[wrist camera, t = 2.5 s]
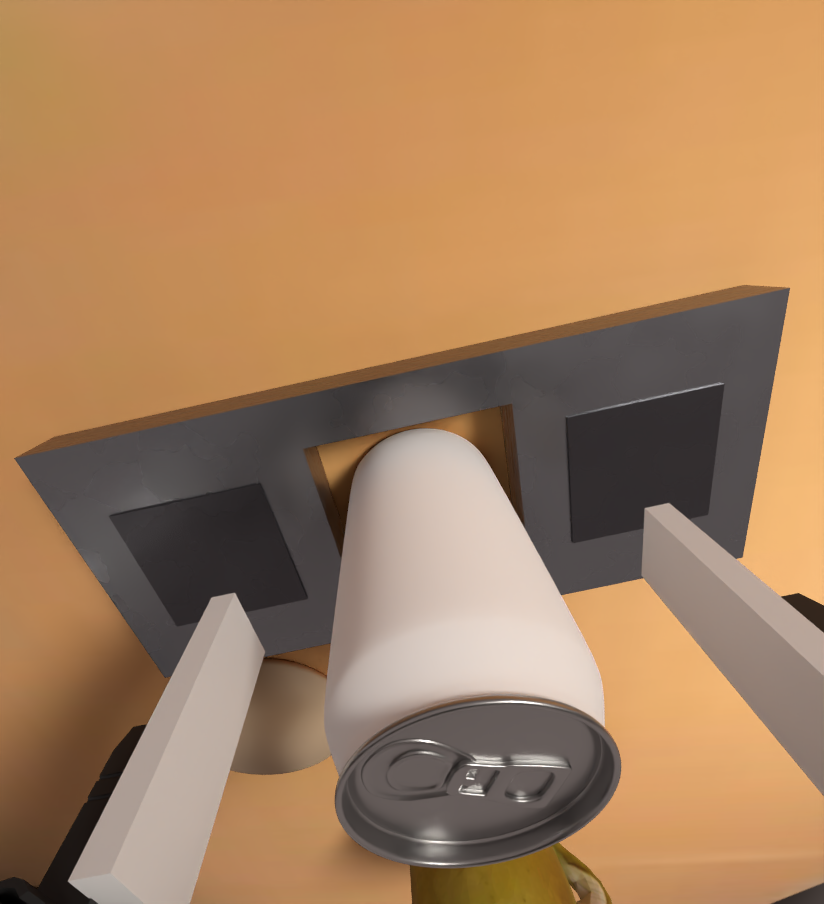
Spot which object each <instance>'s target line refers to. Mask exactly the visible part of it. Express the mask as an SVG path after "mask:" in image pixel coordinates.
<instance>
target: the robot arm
mask: <svg viewBox="0 0 824 904" xmlns="http://www.w3.org/2000/svg"><path fill="white" fill-rule="evenodd" d="M641 576H642V577H643V578H644V579H645V580H646V582H647V583H648V584H649V585H650V586H651V588H652V589H653V590H654V591H655V593H656V594H657V595H658V596H659V597H660V599H661V600H662V601H663V602H664V603H665V605H666V606H667V607H668V608H669V609H670V611H671V612H672V613H673V614H674V615H675V617H676V618H677V619H678V620H679V622H680V623H681V624H682V625H683V626H684V628H685V629H686V630H687V631H688V632H689V634H690V635H691V636H692V637H693V638H694V640H695V641H696V642H697V643H698V645H699V646H700V647H701V648H702V649H703V651H704V652H705V653H706V654H707V655H708V657H709V658H710V659H711V660H712V661H713V663H714V664H715V665H716V666H717V668H718V669H719V670H720V671H721V672H722V674H723V675H724V676H725V677H726V678H727V680H728V681H729V682H730V683H731V684H732V686H733V687H734V688H735V689H736V691H737V692H738V693H739V694H740V695H741V697H742V698H743V699H744V700H745V701H746V703H747V704H748V705H749V706H750V707H751V709H752V710H753V711H754V712H755V714H756V715H757V716H758V717H759V718H760V720H761V721H762V722H763V723H764V724H765V726H766V727H767V728H768V729H769V730H770V732H771V733H772V734H773V735H774V736H775V738H776V739H777V740H778V741H779V743H780V744H781V745H782V746H783V747H784V749H785V750H786V751H787V752H788V753H789V755H790V756H791V757H792V758H793V759H794V761H795V762H796V763H797V764H798V766H799V767H800V768H801V769H802V770H803V772H804V773H805V774H806V775H807V776H808V778H809V779H810V780H811V781H812V782H813V784H814V785H815V786H816V787H817V789H818V790H819V791H820V792H821V793H822V795H823V796H824V605H822V604H820V603H818V602H816V601H814V600H811V599H809V598H807V597H805V596H803V595H801V594H799V593H797V594H792V595H787V596H782V597H780V596H779V595H778V594H777V593H776V592H774V591H773V590H772V589H771V588H770V587H769V586H767V585H766V584H765V583H764V582H763V581H761V580H760V579H759V578H758V577H757V576H755V575H754V574H753V573H752V572H751V571H750V570H748V569H747V568H746V567H745V566H744V565H742V564H741V563H740V562H739V561H738V560H736V559H735V558H734V557H733V556H732V555H730V554H729V553H728V552H727V551H726V550H725V549H723V548H722V547H721V546H720V545H719V544H717V543H716V542H715V541H714V540H713V539H711V538H710V537H709V536H708V535H707V534H706V533H704V532H703V531H702V530H701V529H700V528H698V527H697V526H696V525H695V524H694V523H692V522H691V521H690V520H689V519H688V518H686V517H685V516H684V515H683V514H682V513H681V512H679V511H678V510H677V509H676V508H675V507H673V506H672V505H671V504H670V503H667V504H662V505H657V506H652V507H647V508H645V511H644V532H643V553H642V574H641ZM264 654H265V650H264V648H263V646H262V644H261V643H260V641H259V639H258V637H257V635H256V633H255V631H254V629H253V627H252V625H251V623H250V621H249V619H248V617H247V615H246V613H245V611H244V609H243V608H242V606H241V604H240V602H239V600H238V598H237V596H236V594H235V593H231V594H226V595H221V596H216V597H212V598H211V600H210V602H209V604H208V606H207V608H206V609H205V611H204V613H203V615H202V617H201V619H200V621H199V623H198V625H197V627H196V629H195V631H194V633H193V635H192V637H191V639H190V641H189V643H188V645H187V647H186V649H185V651H184V653H183V655H182V657H181V659H180V661H179V663H178V665H177V667H176V669H175V671H174V673H173V675H172V677H171V679H170V681H169V682H168V684H167V686H166V688H165V690H164V692H163V694H162V696H161V698H160V700H159V702H158V704H157V706H156V708H155V710H154V712H153V714H152V716H151V718H150V720H149V722H148V724H146V725H141V726H136V727H133V728H132V729H131V730H130V732H129V733H128V734H127V735H126V736H125V738H124V739H123V740H122V741H121V742H120V743H119V745H118V746H117V747H116V748H115V749H114V751H113V752H112V754H111V756H110V758H109V760H108V761H107V763H106V765H105V767H104V769H103V771H102V772H101V774H100V779H99V781H97V782H96V783H95V785H94V787H93V789H92V791H91V792H90V794H89V796H88V801H87V803H84V805H83V807H82V809H81V811H80V813H79V814H78V816H77V818H76V820H75V822H74V823H73V825H72V827H71V829H70V831H69V833H68V834H67V836H66V838H65V840H64V842H63V843H62V845H61V847H60V849H59V851H58V853H57V854H56V856H55V858H54V860H53V862H52V864H51V865H50V867H49V869H48V871H47V873H46V874H45V876H44V878H43V880H42V882H41V884H40V885H39V887H38V889H36V888H34V887H33V886H32V885H30V884H29V883H28V882H26V881H25V880H22V879H19V878H15V877H13V878H10V879H7V880H4V881H0V904H190V901H191V898H192V895H193V891H194V888H195V885H196V881H197V878H198V875H199V871H200V868H201V865H202V861H203V858H204V855H205V851H206V848H207V845H208V841H209V838H210V835H211V831H212V828H213V825H214V821H215V818H216V814H217V811H218V808H219V804H220V801H221V798H222V794H223V791H224V788H225V784H226V781H227V778H228V774H229V771H230V768H231V764H232V761H233V758H234V754H235V751H236V748H237V744H238V741H239V738H240V734H241V731H242V728H243V724H244V721H245V718H246V714H247V711H248V707H249V704H250V701H251V697H252V694H253V691H254V687H255V684H256V681H257V677H258V674H259V671H260V667H261V664H262V661H263V657H264Z"/></svg>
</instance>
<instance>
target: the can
mask: <svg viewBox="0 0 824 904" xmlns="http://www.w3.org/2000/svg"><path fill="white" fill-rule="evenodd" d="M324 728H325V734H326V738H327V742H328V746H329V749H330V752H331V755H332V758H333V761H334V763H335V766H336V769H337V772H338V774H339V779H338V782H337V786H336V790H335V809H336V813H337V816H338V819H339V821H340V823H341V825H342V827H343V828H344V830H345V831H346V832H347V834H348V835H349V836H350V837H351V838H352V839H353V840H354V841H355V842H357V843H358V844H359V845H361V846H362V847H364V848H365V849H367V850H369V851H370V852H372V853H374V854H376V855H379V856H381V857H384V858H386V859H389V860H392V861H396V862H399V863H403V864H408V865H414V866H420V867H430V868H467V867H477V866H485V865H491V864H496V863H501V862H505V861H510V860H513V859H517V858H520V857H524V856H527V855H530V854H533V853H535V852H538V851H541V850H543V849H545V848H548V847H550V846H552V845H554V844H556V843H558V842H560V841H562V840H564V839H566V838H567V837H569V836H571V835H572V834H574V833H576V832H577V831H579V830H580V829H581V828H583V827H584V826H585V825H587V824H588V823H589V822H590V821H592V820H593V819H594V818H595V817H596V816H597V815H598V814H599V813H600V812H601V811H602V810H603V808H604V807H605V806H606V805H607V803H608V802H609V801H610V799H611V798H612V796H613V794H614V792H615V790H616V788H617V786H618V783H619V779H620V775H621V758H620V753H619V750H618V747H617V745H616V743H615V741H614V739H613V738H612V736H611V735H610V733H609V732H608V731H607V730H606V729H605V717H604V694H603V686H602V680H601V676H600V672H599V670H598V667H597V665H596V662H595V660H594V657H593V655H592V653H591V651H590V649H589V647H588V645H587V643H586V641H585V639H584V637H583V635H582V633H581V631H580V630H579V628H578V626H577V624H576V622H575V620H574V618H573V617H572V615H571V613H570V611H569V609H568V607H567V605H566V603H565V602H564V600H563V598H562V596H561V594H560V592H559V591H558V589H557V587H556V585H555V583H554V581H553V579H552V578H551V576H550V574H549V572H548V570H547V568H546V567H545V565H544V563H543V561H542V559H541V557H540V556H539V554H538V552H537V550H536V548H535V546H534V545H533V543H532V541H531V539H530V537H529V536H528V534H527V532H526V530H525V528H524V526H523V525H522V523H521V521H520V519H519V517H518V516H517V514H516V512H515V510H514V508H513V506H512V505H511V503H510V501H509V499H508V497H507V496H506V494H505V492H504V490H503V488H502V487H501V485H500V483H499V481H498V479H497V478H496V476H495V474H494V472H493V471H492V469H491V467H490V465H489V464H488V462H487V461H486V459H485V457H484V456H483V455H482V454H481V452H480V451H479V450H478V449H477V448H476V447H475V446H474V445H473V444H472V443H470V442H469V441H467V440H466V439H464V438H463V437H461V436H459V435H456V434H454V433H451V432H448V431H445V430H440V429H431V428H420V429H412V430H407V431H403V432H400V433H397V434H395V435H392V436H390V437H388V438H386V439H385V440H383V441H381V442H380V443H379V444H377V445H376V446H375V447H373V448H372V449H371V450H370V451H369V452H368V453H367V454H366V455H365V457H364V458H363V459H362V460H361V462H360V463H359V465H358V467H357V469H356V471H355V474H354V477H353V481H352V487H351V493H350V500H349V507H348V514H347V521H346V529H345V537H344V544H343V552H342V560H341V567H340V575H339V583H338V591H337V599H336V607H335V615H334V623H333V631H332V639H331V647H330V656H329V664H328V673H327V682H326V692H325V703H324Z"/></svg>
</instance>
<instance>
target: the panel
mask: <svg viewBox="0 0 824 904" xmlns="http://www.w3.org/2000/svg"><path fill="white" fill-rule="evenodd" d="M789 291H790V288H784V287H767V286H750V285H742V286H738V287H733V288H728V289H724V290H719V291H715V292H710V293H706V294H701V295H697V296H692V297H688V298H683V299H679V300H674V301H669V302H665V303H660V304H656V305H651V306H647V307H642V308H638V309H633V310H629V311H624V312H620V313H615V314H610V315H606V316H601V317H597V318H592V319H588V320H583V321H579V322H574V323H570V324H565V325H561V326H556V327H551V328H547V329H542V330H538V331H533V332H529V333H524V334H520V335H515V336H511V337H506V338H502V339H497V340H492V341H488V342H483V343H479V344H474V345H470V346H465V347H461V348H456V349H452V350H447V351H443V352H438V353H433V354H429V355H424V356H420V357H415V358H411V359H406V360H402V361H397V362H393V363H388V364H384V365H379V366H374V367H370V368H365V369H361V370H356V371H352V372H347V373H343V374H338V375H334V376H329V377H325V378H320V379H315V380H311V381H306V382H302V383H297V384H293V385H288V386H284V387H279V388H275V389H270V390H266V391H261V392H256V393H252V394H247V395H243V396H238V397H234V398H229V399H225V400H220V401H216V402H211V403H207V404H202V405H197V406H193V407H188V408H184V409H179V410H175V411H170V412H166V413H161V414H157V415H152V416H148V417H143V418H138V419H134V420H129V421H125V422H120V423H116V424H111V425H107V426H102V427H98V428H93V429H89V430H84V431H79V432H75V433H70V434H66V435H61V436H57V437H53V438H51V439H50V440H48V441H46V442H44V443H42V444H40V445H38V446H36V447H35V448H33V449H31V450H29V451H27V452H25V453H23V454H21V455H20V456H18V457H16V458H14V459H15V460H16V461H17V463H18V464H19V466H20V467H21V469H22V470H23V472H24V473H25V475H26V476H27V478H28V479H29V480H30V482H31V483H32V485H33V486H34V488H35V489H36V491H37V492H38V494H39V495H40V496H41V498H42V499H43V501H44V502H45V504H46V505H47V507H48V508H49V510H50V511H51V512H52V514H53V515H54V517H55V518H56V520H57V521H58V523H59V524H60V526H61V527H62V528H63V530H64V531H65V533H66V534H67V536H68V537H69V539H70V540H71V542H72V543H73V544H74V546H75V547H76V549H77V550H78V552H79V553H80V555H81V556H82V558H83V559H84V560H85V562H86V563H87V565H88V566H89V568H90V569H91V571H92V572H93V574H94V575H95V577H96V578H97V579H98V581H99V582H100V584H101V585H102V587H103V588H104V590H105V591H106V593H107V594H108V595H109V597H110V598H111V600H112V601H113V603H114V604H115V606H116V607H117V609H118V610H119V611H120V613H121V614H122V616H123V617H124V619H125V620H126V622H127V623H128V625H129V626H130V627H131V629H132V630H133V632H134V633H135V635H136V636H137V638H138V639H139V641H140V642H141V643H142V645H143V646H144V648H145V649H146V651H147V652H148V654H149V655H150V657H151V658H152V660H153V661H154V662H155V664H156V665H157V667H158V668H159V670H160V671H161V673H162V674H163V676H164V677H165V678H166V677H171V676H172V675H173V673H174V671H175V669H176V667H177V665H178V663H179V661H180V659H181V657H182V655H183V653H184V651H185V649H186V647H187V645H188V643H189V641H190V639H191V637H192V635H193V633H194V631H195V629H196V627H197V625H198V623H199V621H200V619H201V617H202V615H203V613H204V611H205V609H206V608H207V606H208V604H209V602H210V600H211V598H212V597H216V596H221V595H226V594H231V593H235V594H236V596H237V598H238V600H239V602H240V604H241V606H242V608H243V609H244V611H245V613H246V615H247V617H248V619H249V621H250V623H251V625H252V627H253V629H254V631H255V633H256V635H257V637H258V639H259V641H260V643H261V644H262V646H263V648H264V650H265V654H264V657H267V656H271V655H276V654H281V653H286V652H291V651H295V650H300V649H305V648H310V647H315V646H319V645H324V644H329V643H331V639H332V631H333V623H334V615H335V607H336V599H337V591H338V583H339V575H340V567H341V560H342V552H343V544H344V537H345V531H344V528H343V525H342V522H341V519H340V516H339V513H338V510H337V507H336V504H335V501H334V498H333V495H332V492H331V489H330V486H329V483H328V480H327V477H326V474H325V471H324V468H323V465H322V462H321V459H320V456H319V453H318V450H317V447H316V446H319V445H323V444H328V443H332V442H337V441H342V440H346V439H351V438H355V437H360V436H365V435H369V434H374V433H378V432H383V431H388V430H392V429H397V428H401V427H406V426H411V425H415V424H420V423H424V422H429V421H434V420H438V419H443V418H447V417H452V416H457V415H461V414H466V413H470V412H475V411H480V410H484V409H489V408H493V407H498V406H500V409H501V417H502V426H503V435H504V443H505V452H506V460H507V469H508V477H509V486H510V494H511V503H512V506H513V508H514V510H515V512H516V514H517V516H518V517H519V519H520V521H521V523H522V525H523V526H524V528H525V530H526V532H527V534H528V536H529V537H530V539H531V541H532V543H533V545H534V546H535V548H536V550H537V552H538V554H539V556H540V557H541V559H542V561H543V563H544V565H545V567H546V568H547V570H548V572H549V574H550V576H551V578H552V579H553V581H554V583H555V585H556V587H557V589H558V591H559V592H560V594H561V595H564V594H569V593H574V592H579V591H584V590H588V589H593V588H598V587H603V586H608V585H612V584H617V583H622V582H627V581H632V580H636V579H641V578H643V577H642V576H641V574H642V553H643V532H644V511H645V508H647V507H652V506H657V505H662V504H667V503H670V504H671V505H672V506H673V507H675V508H676V509H677V510H678V511H679V512H681V513H682V514H683V515H684V516H685V517H686V518H688V519H689V520H690V521H691V522H692V523H694V524H695V525H696V526H697V527H698V528H700V529H701V530H702V531H703V532H704V533H706V534H707V535H708V536H709V537H710V538H711V539H713V540H714V541H715V542H716V543H717V544H719V545H720V546H721V547H722V548H723V549H725V550H726V551H727V552H728V553H729V554H730V555H732V556H733V557H734V558H735V559H737V558H742V557H743V552H744V546H745V540H746V535H747V529H748V523H749V518H750V512H751V506H752V501H753V495H754V489H755V484H756V478H757V472H758V467H759V461H760V455H761V450H762V444H763V438H764V433H765V427H766V421H767V416H768V410H769V404H770V398H771V393H772V387H773V381H774V376H775V370H776V364H777V359H778V353H779V347H780V342H781V336H782V330H783V325H784V319H785V313H786V308H787V302H788V296H789Z"/></svg>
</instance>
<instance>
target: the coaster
mask: <svg viewBox="0 0 824 904" xmlns="http://www.w3.org/2000/svg"><path fill="white" fill-rule="evenodd" d="M326 682H327V676H325V675H324V674H322V673H320V672H318V671H317V670H315V669H312V668H310V667H307V666H305V665H302V664H298V663H295V662H290V661H286V660H279V659H269V658H263V661H262V664H261V667H260V671H259V674H258V677H257V681H256V684H255V687H254V691H253V694H252V697H251V701H250V704H249V707H248V711H247V714H246V718H245V721H244V724H243V728H242V731H241V734H240V738H239V741H238V744H237V748H236V751H235V754H234V758H233V761H232V764H231V768H230V770H231V771H236V772H241V773H248V774H259V775H271V774H283V773H289V772H294V771H298V770H302V769H305V768H308V767H311V766H313V765H315V764H318V763H320V762H321V761H323V760H325V759H327V758H328V757H329V756H331V752H330V749H329V746H328V742H327V738H326V734H325V728H324V703H325V692H326Z"/></svg>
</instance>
